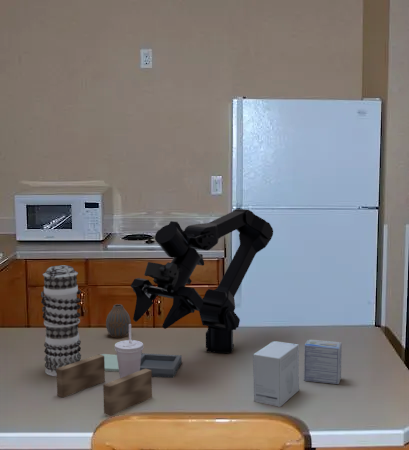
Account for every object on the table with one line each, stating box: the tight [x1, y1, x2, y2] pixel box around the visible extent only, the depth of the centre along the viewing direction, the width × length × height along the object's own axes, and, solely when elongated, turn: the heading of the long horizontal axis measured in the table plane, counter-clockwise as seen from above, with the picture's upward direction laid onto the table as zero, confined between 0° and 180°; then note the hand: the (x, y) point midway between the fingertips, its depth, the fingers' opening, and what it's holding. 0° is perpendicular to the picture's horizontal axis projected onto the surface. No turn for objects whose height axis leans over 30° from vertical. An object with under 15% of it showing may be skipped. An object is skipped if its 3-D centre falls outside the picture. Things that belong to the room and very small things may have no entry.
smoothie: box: [114, 323, 144, 378], centre depth 143 cm, size 6×6×14 cm
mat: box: [100, 353, 119, 373], centre depth 159 cm, size 10×10×1 cm
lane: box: [56, 354, 153, 416], centre depth 138 cm, size 12×17×6 cm
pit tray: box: [140, 353, 183, 378], centre depth 155 cm, size 10×10×2 cm
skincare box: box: [252, 340, 300, 408], centre depth 138 cm, size 10×6×10 cm, turn 150°
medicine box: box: [303, 339, 343, 385], centre depth 147 cm, size 8×4×9 cm, turn 71°
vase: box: [105, 303, 132, 338], centre depth 182 cm, size 7×7×9 cm
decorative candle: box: [40, 264, 82, 377], centre depth 153 cm, size 9×9×25 cm
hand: (148, 324), depth 148 cm, fingers open, 9 cm apart
